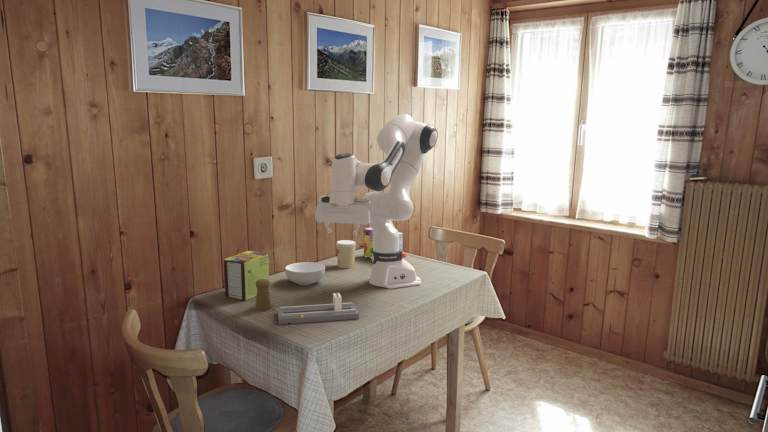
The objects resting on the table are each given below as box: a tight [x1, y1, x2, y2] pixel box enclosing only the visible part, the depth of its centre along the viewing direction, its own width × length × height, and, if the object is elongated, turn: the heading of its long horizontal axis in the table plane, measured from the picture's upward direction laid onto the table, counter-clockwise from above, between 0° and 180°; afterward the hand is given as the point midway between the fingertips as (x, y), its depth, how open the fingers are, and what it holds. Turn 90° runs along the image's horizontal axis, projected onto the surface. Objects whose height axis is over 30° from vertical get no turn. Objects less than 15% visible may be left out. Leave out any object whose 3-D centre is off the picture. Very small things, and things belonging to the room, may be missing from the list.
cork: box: [254, 279, 273, 312], centre depth 200 cm, size 6×6×11 cm
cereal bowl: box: [284, 261, 326, 286], centre depth 232 cm, size 17×17×7 cm
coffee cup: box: [335, 239, 357, 269], centre depth 256 cm, size 9×9×12 cm
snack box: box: [363, 226, 404, 257], centre depth 269 cm, size 21×6×15 cm, turn 52°
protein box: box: [223, 250, 270, 301], centre depth 216 cm, size 10×15×16 cm
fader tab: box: [332, 292, 343, 310], centre depth 195 cm, size 2×5×5 cm, turn 13°
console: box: [277, 301, 360, 325], centre depth 194 cm, size 28×11×3 cm, turn 103°
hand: (342, 235), depth 200 cm, fingers open, 8 cm apart
